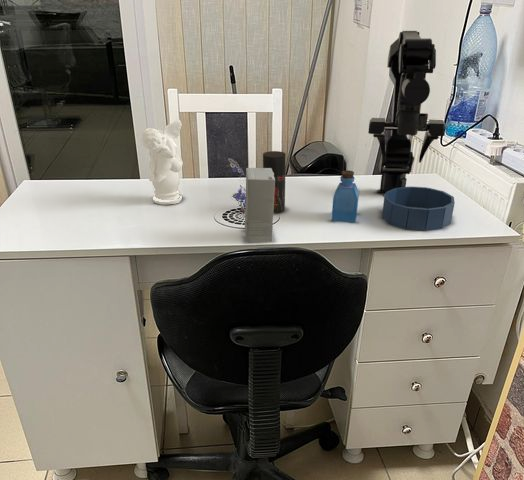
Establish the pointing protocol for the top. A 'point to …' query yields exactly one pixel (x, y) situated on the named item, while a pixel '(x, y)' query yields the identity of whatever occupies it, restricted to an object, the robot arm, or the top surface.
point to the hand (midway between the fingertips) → (401, 161)
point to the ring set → (239, 189)
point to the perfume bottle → (345, 199)
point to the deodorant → (277, 177)
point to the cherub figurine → (164, 161)
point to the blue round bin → (418, 208)
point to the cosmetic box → (259, 204)
